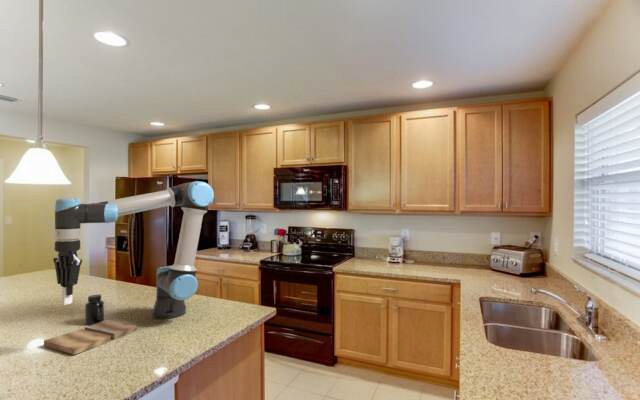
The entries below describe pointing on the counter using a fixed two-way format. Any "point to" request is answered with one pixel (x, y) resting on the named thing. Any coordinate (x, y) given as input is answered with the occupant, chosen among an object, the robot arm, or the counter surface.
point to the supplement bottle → (94, 310)
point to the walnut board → (112, 328)
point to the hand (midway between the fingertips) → (67, 303)
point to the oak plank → (77, 341)
